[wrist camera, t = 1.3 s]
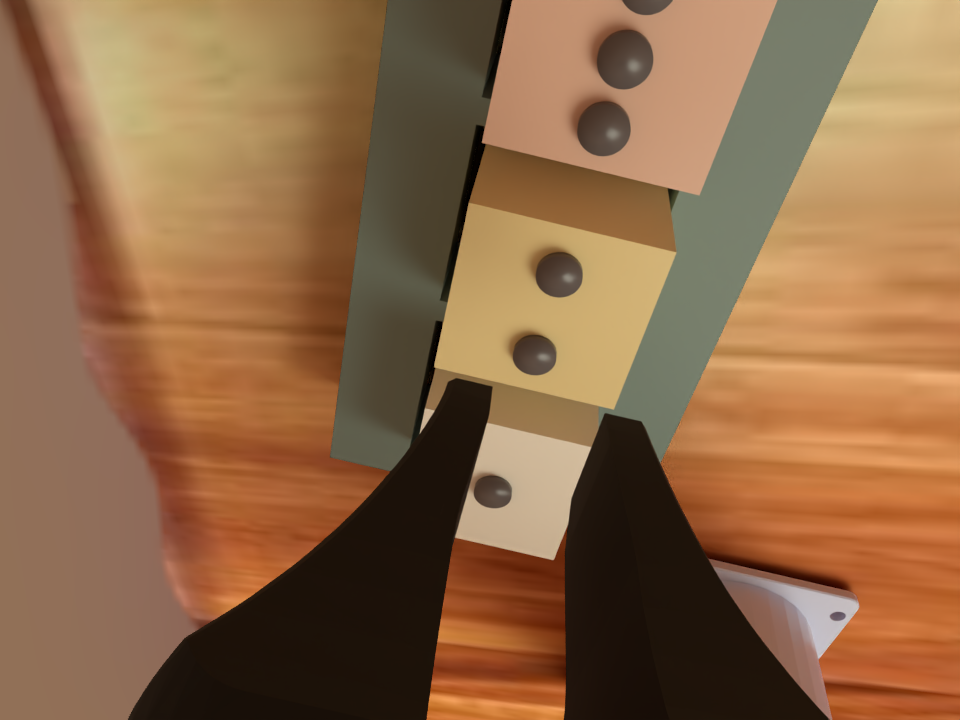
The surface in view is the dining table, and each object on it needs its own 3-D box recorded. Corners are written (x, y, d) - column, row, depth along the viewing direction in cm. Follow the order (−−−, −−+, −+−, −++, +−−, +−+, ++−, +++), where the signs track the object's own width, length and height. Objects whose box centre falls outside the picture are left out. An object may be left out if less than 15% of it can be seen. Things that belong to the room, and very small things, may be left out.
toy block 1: (681, 107, 19) (700, 200, 15) (505, 64, 18) (480, 147, 15) (752, -91, 16) (797, -40, 12) (550, -142, 16) (534, -105, 12)
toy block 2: (612, 298, 22) (613, 415, 18) (462, 262, 22) (432, 372, 18) (663, 156, 19) (677, 258, 15) (494, 115, 19) (467, 207, 15)
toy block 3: (560, 441, 25) (553, 566, 21) (429, 410, 25) (398, 530, 21) (598, 335, 22) (598, 454, 19) (453, 300, 22) (423, 414, 19)
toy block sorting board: (628, 456, 27) (630, 526, 24) (354, 392, 27) (330, 457, 24) (889, -145, 17) (936, -125, 14) (447, -258, 16) (420, -257, 14)
